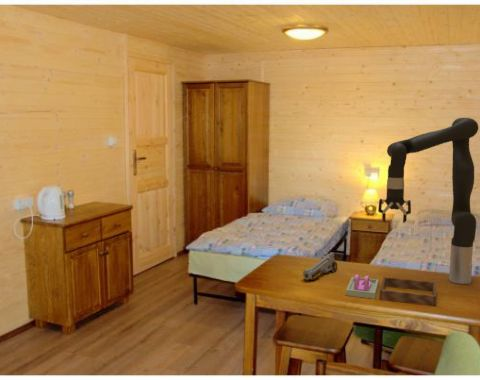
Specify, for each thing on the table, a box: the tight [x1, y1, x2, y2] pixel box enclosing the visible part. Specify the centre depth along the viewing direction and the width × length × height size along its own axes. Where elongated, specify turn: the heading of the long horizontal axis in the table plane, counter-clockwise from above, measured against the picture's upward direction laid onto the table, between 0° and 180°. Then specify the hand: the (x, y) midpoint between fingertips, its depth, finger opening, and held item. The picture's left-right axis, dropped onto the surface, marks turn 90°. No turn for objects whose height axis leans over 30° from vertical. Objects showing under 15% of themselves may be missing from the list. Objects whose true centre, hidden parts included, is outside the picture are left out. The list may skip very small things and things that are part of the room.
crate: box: [379, 276, 437, 307], centre depth 220 cm, size 22×19×4 cm
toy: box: [302, 251, 338, 281], centre depth 246 cm, size 6×24×10 cm, turn 139°
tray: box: [345, 276, 380, 300], centre depth 227 cm, size 12×19×2 cm, turn 160°
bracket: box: [354, 274, 372, 291], centre depth 226 cm, size 13×6×7 cm, turn 156°
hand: (394, 222), depth 236 cm, fingers open, 8 cm apart
